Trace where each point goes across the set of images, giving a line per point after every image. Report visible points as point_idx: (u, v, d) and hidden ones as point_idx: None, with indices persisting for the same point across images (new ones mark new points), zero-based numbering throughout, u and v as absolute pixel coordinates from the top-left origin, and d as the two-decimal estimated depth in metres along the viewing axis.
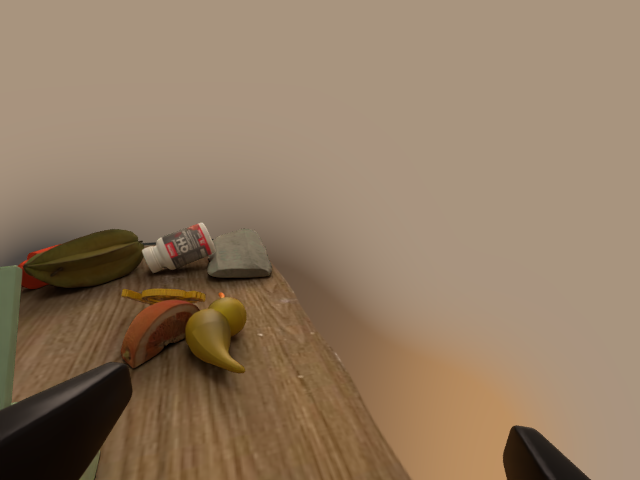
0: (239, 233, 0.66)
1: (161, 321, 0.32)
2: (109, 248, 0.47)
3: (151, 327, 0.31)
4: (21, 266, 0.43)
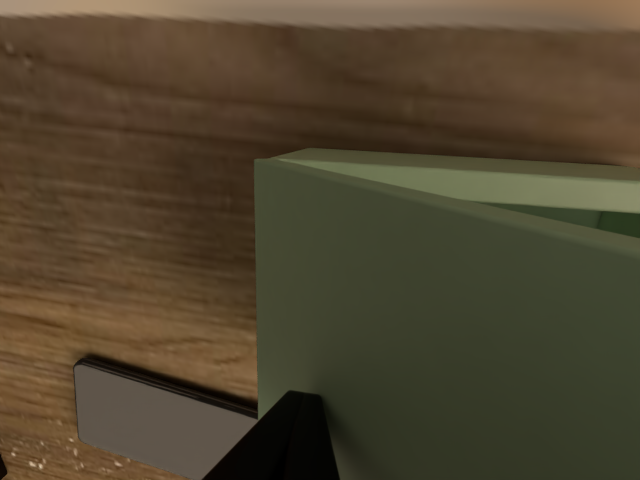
0: None
1: None
2: None
3: None
4: None
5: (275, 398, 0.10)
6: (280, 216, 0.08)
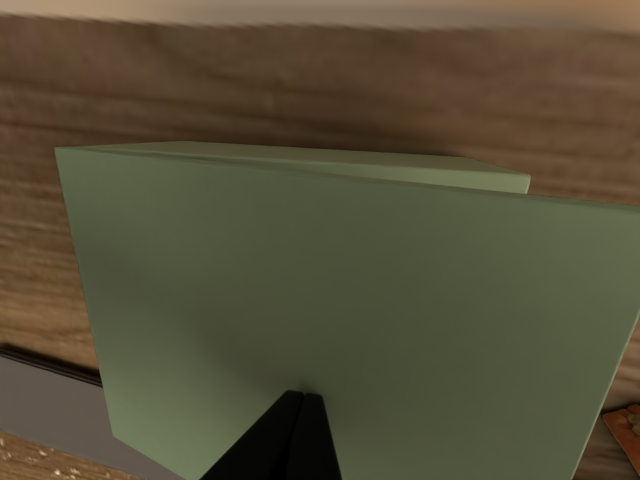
0: None
1: None
2: None
3: None
4: None
5: (121, 364, 0.11)
6: (96, 196, 0.09)
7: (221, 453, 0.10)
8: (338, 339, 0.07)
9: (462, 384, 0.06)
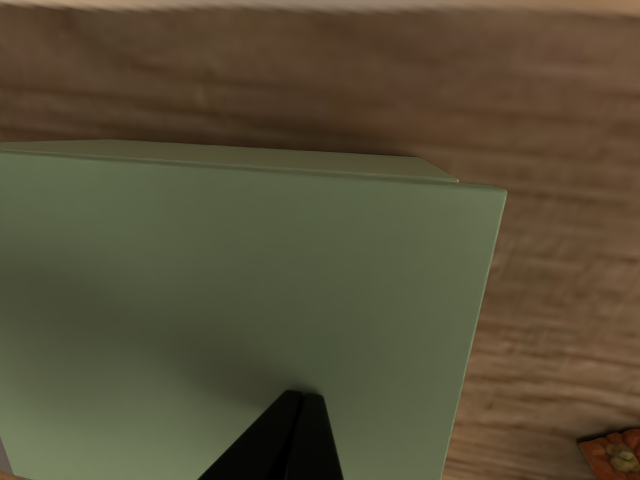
0: None
1: None
2: None
3: None
4: None
5: (17, 390, 0.10)
6: None
7: (148, 462, 0.09)
8: (258, 324, 0.07)
9: (369, 347, 0.07)
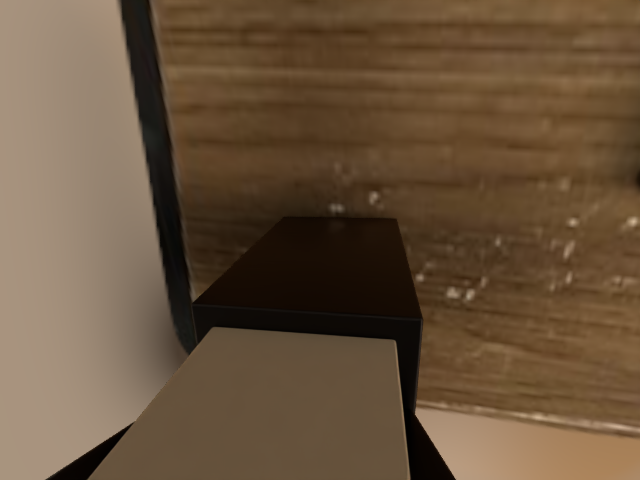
0: None
1: None
2: None
3: None
4: None
5: None
6: None
7: None
8: None
9: None
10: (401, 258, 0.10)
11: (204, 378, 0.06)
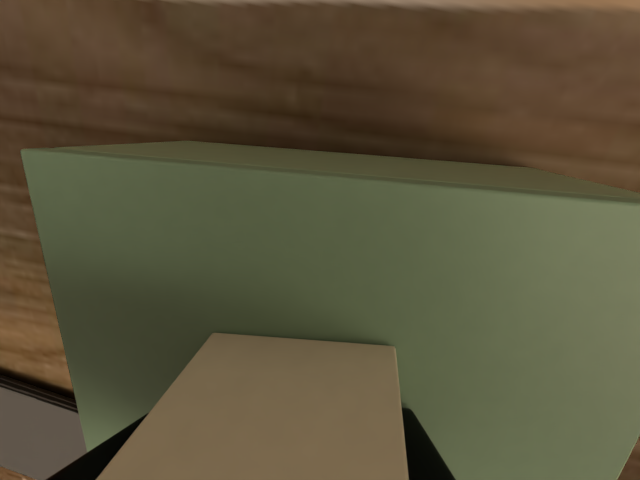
0: None
1: None
2: None
3: None
4: None
5: (119, 415, 0.09)
6: (94, 212, 0.07)
7: None
8: (427, 348, 0.07)
9: (552, 373, 0.06)
10: None
11: (204, 385, 0.06)
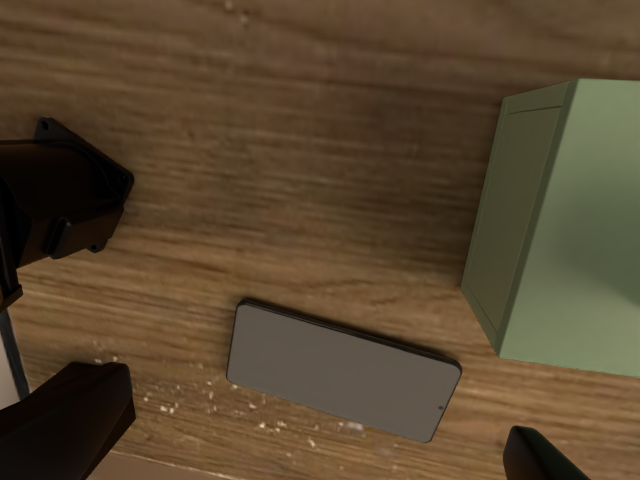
0: None
1: None
2: None
3: None
4: None
5: (559, 279, 0.12)
6: (619, 121, 0.10)
7: None
8: None
9: None
10: None
11: None
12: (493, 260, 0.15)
